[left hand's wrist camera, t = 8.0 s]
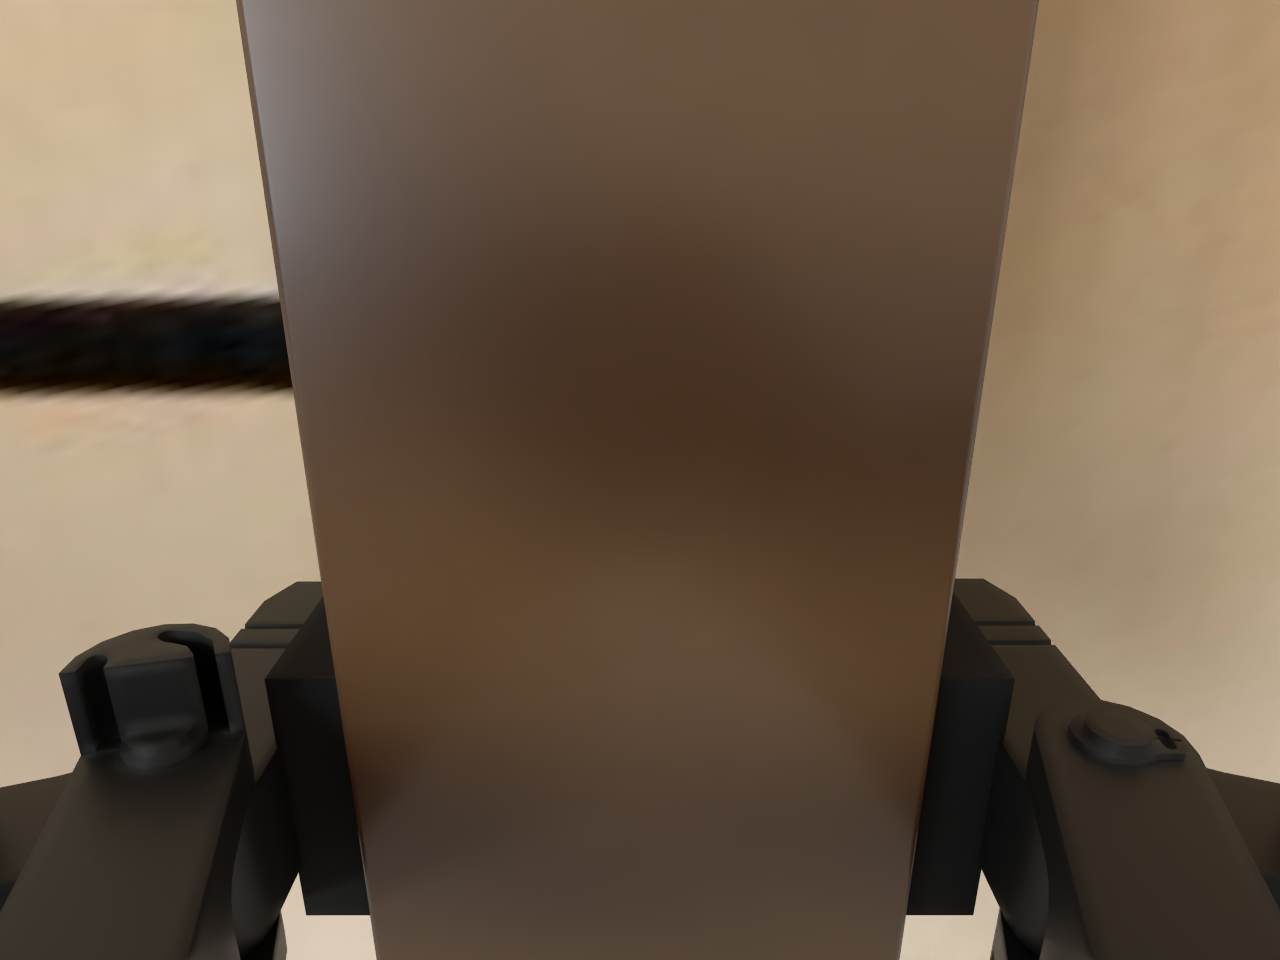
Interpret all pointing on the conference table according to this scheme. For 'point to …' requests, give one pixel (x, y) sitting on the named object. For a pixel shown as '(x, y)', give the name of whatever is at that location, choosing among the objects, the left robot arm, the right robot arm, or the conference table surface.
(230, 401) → the conference table surface
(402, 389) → the bar
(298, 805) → the left robot arm
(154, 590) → the conference table surface
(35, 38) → the conference table surface
